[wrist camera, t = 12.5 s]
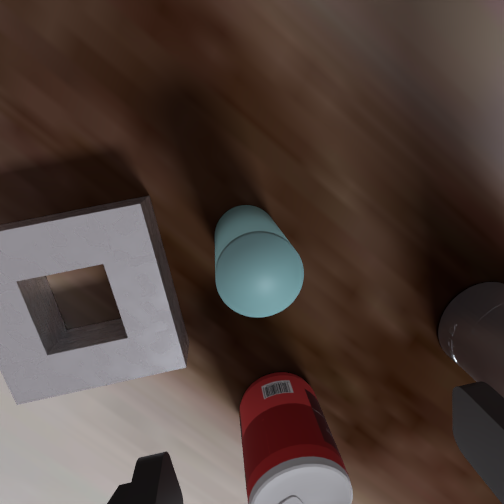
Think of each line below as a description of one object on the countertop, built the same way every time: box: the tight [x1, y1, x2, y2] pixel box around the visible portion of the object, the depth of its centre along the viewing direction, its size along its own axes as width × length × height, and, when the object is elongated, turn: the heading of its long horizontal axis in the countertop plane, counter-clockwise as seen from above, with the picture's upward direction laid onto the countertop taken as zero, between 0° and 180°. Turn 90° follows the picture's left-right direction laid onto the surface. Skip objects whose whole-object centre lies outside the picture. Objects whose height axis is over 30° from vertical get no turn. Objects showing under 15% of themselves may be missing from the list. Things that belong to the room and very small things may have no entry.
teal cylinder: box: [215, 205, 304, 317], centre depth 26 cm, size 5×5×10 cm
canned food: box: [239, 372, 353, 504], centre depth 31 cm, size 8×8×11 cm
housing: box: [0, 196, 189, 405], centre depth 29 cm, size 14×14×4 cm
